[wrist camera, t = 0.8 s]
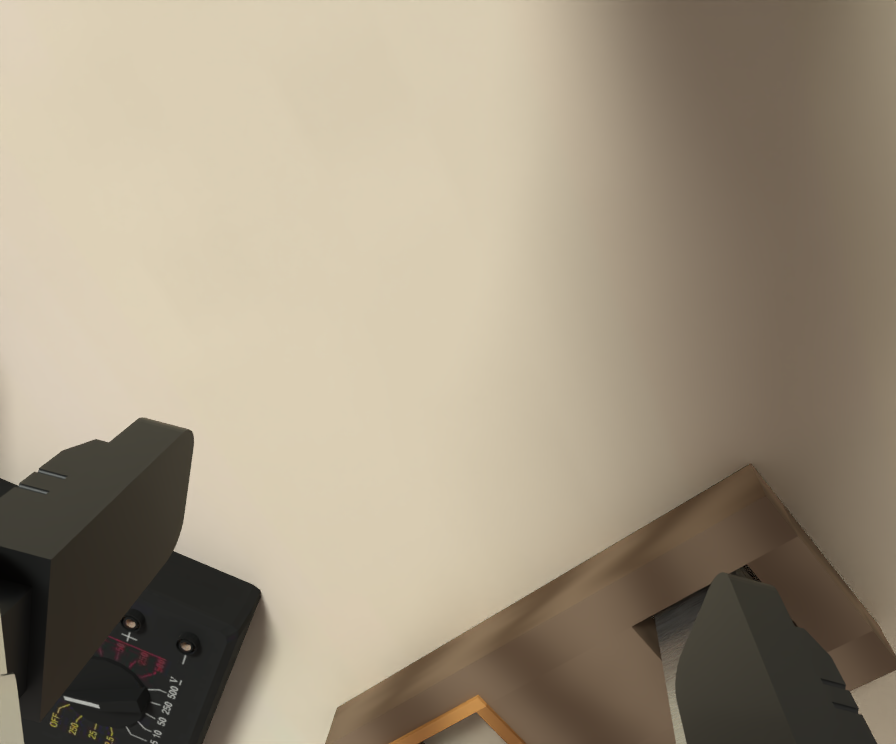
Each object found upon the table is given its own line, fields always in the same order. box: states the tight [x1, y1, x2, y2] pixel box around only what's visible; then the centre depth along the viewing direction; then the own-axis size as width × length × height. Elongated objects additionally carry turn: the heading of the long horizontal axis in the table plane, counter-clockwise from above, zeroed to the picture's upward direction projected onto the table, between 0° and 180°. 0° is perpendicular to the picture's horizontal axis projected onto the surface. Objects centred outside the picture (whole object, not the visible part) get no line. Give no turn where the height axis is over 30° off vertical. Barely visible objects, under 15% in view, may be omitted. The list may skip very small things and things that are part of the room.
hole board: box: [325, 464, 896, 744], centre depth 36 cm, size 24×10×3 cm, turn 130°
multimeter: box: [0, 478, 260, 744], centre depth 38 cm, size 13×19×5 cm
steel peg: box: [654, 566, 754, 744], centre depth 30 cm, size 4×4×10 cm
